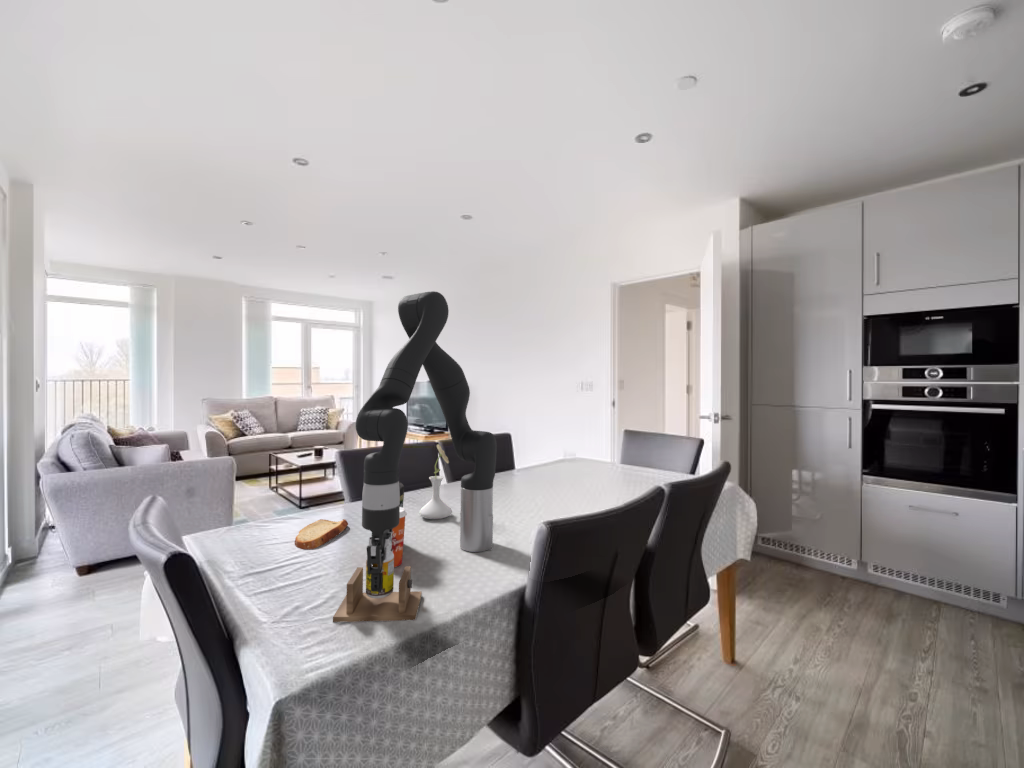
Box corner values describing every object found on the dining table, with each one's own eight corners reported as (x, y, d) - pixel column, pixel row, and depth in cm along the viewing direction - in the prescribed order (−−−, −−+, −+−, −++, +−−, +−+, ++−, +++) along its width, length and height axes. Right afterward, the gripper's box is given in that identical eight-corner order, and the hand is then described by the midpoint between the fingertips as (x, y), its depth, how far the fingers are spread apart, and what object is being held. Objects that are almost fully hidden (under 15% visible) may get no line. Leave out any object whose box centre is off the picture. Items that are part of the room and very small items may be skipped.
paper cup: (390, 572, 111) (390, 515, 111) (369, 565, 115) (369, 510, 115) (412, 561, 118) (413, 508, 118) (392, 555, 122) (392, 503, 122)
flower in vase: (449, 522, 150) (450, 448, 150) (415, 521, 150) (416, 447, 150) (455, 511, 163) (455, 442, 163) (423, 510, 164) (424, 442, 163)
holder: (421, 595, 99) (421, 564, 99) (415, 619, 89) (415, 584, 89) (347, 597, 98) (347, 565, 98) (332, 622, 88) (333, 586, 88)
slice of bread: (301, 552, 124) (301, 539, 124) (282, 535, 137) (282, 523, 137) (364, 538, 136) (364, 525, 136) (341, 523, 149) (341, 512, 149)
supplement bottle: (360, 597, 92) (360, 547, 92) (376, 585, 97) (376, 538, 97) (383, 601, 90) (384, 551, 90) (398, 589, 95) (399, 541, 95)
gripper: (392, 513, 87) (391, 600, 87) (404, 494, 101) (404, 569, 101) (353, 513, 86) (352, 601, 86) (370, 494, 100) (370, 569, 101)
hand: (380, 583), depth 94 cm, fingers closed on supplement bottle, 5 cm apart
